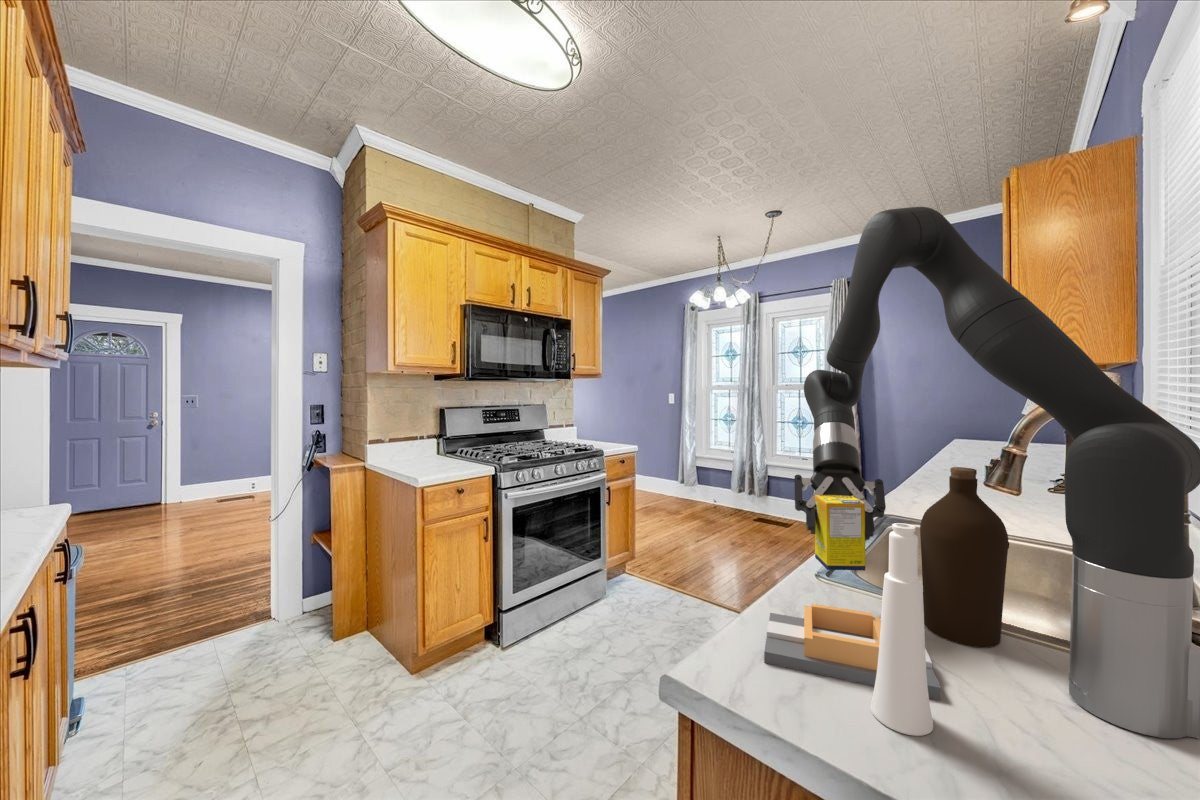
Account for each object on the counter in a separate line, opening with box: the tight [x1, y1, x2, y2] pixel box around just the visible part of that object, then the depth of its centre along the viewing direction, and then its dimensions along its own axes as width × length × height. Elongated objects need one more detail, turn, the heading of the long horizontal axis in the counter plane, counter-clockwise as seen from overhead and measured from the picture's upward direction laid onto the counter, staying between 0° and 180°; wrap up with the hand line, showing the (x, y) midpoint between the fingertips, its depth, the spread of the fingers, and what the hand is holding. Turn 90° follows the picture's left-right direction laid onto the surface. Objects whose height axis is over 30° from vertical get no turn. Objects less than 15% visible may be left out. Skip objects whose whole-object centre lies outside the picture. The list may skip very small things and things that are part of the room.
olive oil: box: [919, 466, 1010, 649], centre depth 72 cm, size 11×11×25 cm
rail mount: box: [763, 603, 942, 701], centre depth 66 cm, size 20×12×4 cm, turn 67°
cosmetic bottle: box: [870, 522, 934, 737], centre depth 54 cm, size 6×6×22 cm
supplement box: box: [814, 495, 866, 572], centre depth 78 cm, size 6×6×11 cm
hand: (839, 534), depth 76 cm, fingers closed on supplement box, 7 cm apart
